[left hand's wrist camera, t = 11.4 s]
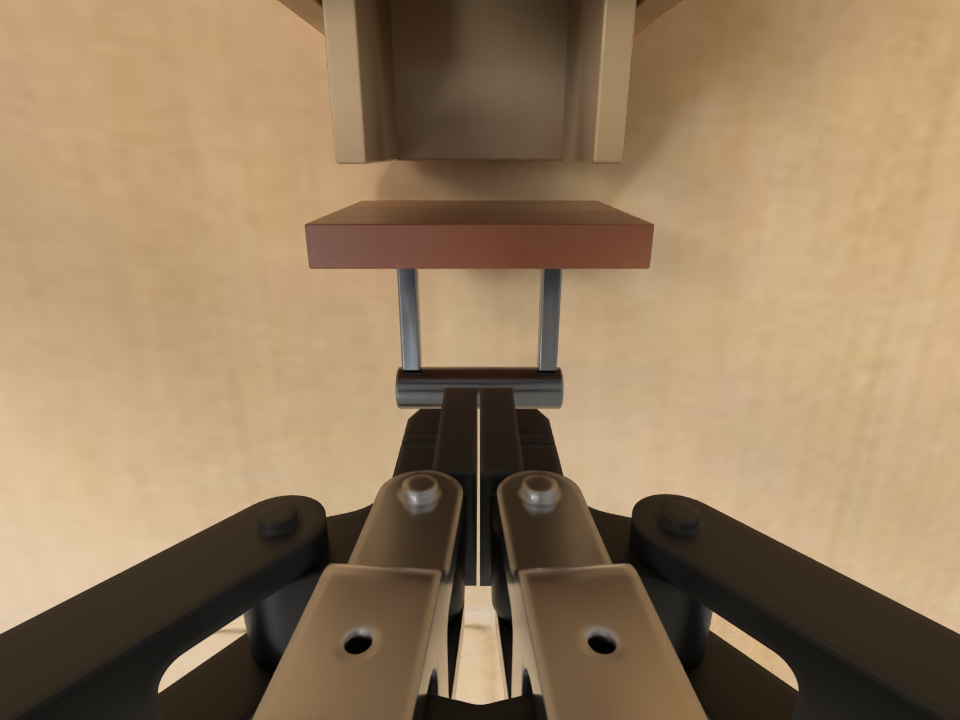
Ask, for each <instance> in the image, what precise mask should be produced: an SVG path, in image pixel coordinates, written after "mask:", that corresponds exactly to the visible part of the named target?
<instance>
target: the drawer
mask: <svg viewBox="0 0 960 720" xmlns="http://www.w3.org/2000/svg"><path fill="white" fill-rule="evenodd" d="M636 1H637V0H322V7H323V19H324V30H325V42H326V53H327V65H328V76H329V88H330V99H331V111H332V122H333V134H334V146H335V157H336V162H337V163H338V164H366V163H376V162H387V161H573V162H584V163H594V164H619V163H621V162H622V160H623V152H624V140H625V129H626V117H627V106H628V94H629V82H630V71H631V59H632V48H633V36H634V25H635V13H636ZM653 231H654V224H652V223H649V222H647V221H644V220H642V219H639V218H637V217H635V216H632V215H630V214H627V213H625V212H623V211H620V210H618V209H615V208H613V207H610V206H608V205H606V204H603V203H601V202H598V201H361V202H358V203H356V204H353V205H351V206H349V207H346V208H344V209H341V210H339V211H336V212H334V213H332V214H329V215H327V216H324V217H322V218H319V219H317V220H314V221H312V222H310V223H307V224H305V232H306V241H307V250H308V259H309V267H310V268H311V269H397V277H398V296H399V315H400V333H401V352H402V367H399V368H398V371H397V375H396V402H397V406H398V408H400V409H442V402H443V395H444V389H445V387H477V409H480V387H512V388H513V395H514V402H515V409H559V408H561V406H562V402H563V375H562V370H561V368H560V367H557V354H558V335H559V316H560V298H561V279H562V269H648V268H649V267H650V259H651V250H652V240H653ZM418 269H541V279H540V304H539V330H538V355H537V365H538V367H421V365H422V354H421V329H420V304H419V279H418Z"/></svg>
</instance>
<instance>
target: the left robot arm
mask: <svg viewBox="0 0 960 720" xmlns="http://www.w3.org/2000/svg"><path fill="white" fill-rule="evenodd" d="M476 566H477V387H445V389H444V395H443V402H442V409H420V410H418V411H417V412H416V413H415V414H414V415H413V416H412V417H410V418H409V419H408V422H407V426H406V429H405V434H404V437H403V441H402V445H401V448H400V452H399V455H398V459H397V463H396V466H395V470H394V474H393V478H392V479H390V480H388V481H387V482H386V483H385V484H384V485H383V486H382V487H381V488H380V490H379V492H378V494H377V497H376V499H375V501H374V503H373V504H371V505H369V506H367V507H365V508H362V509H360V510H357V511H353V512H349V513H345V514H340V515H335V516H330V517H326V512H325V509H324V507H323V506H322V505H321V504H320V503H319V502H318V501H316V500H314V499H312V498H309V497H305V496H298V495H288V496H279V497H274V498H270V499H267V500H264V501H261V502H259V503H256V504H254V505H252V506H250V507H248V508H246V509H244V510H242V511H240V512H238V513H236V514H234V515H233V516H231V517H229V518H227V519H225V520H223V521H221V522H219V523H217V524H215V525H213V526H211V527H209V528H207V529H205V530H203V531H201V532H199V533H197V534H195V535H193V536H191V537H190V538H188V539H186V540H184V541H182V542H180V543H178V544H176V545H174V546H172V547H170V548H168V549H166V550H164V551H162V552H160V553H158V554H156V555H154V556H152V557H150V558H148V559H147V560H145V561H143V562H141V563H139V564H137V565H135V566H133V567H131V568H129V569H127V570H125V571H123V572H121V573H119V574H117V575H115V576H113V577H111V578H109V579H107V580H105V581H104V582H102V583H100V584H98V585H96V586H94V587H92V588H90V589H88V590H86V591H84V592H82V593H80V594H78V595H76V596H74V597H72V598H70V599H68V600H66V601H64V602H62V603H61V604H59V605H57V606H55V607H53V608H51V609H49V610H47V611H45V612H43V613H41V614H39V615H37V616H35V617H33V618H31V619H29V620H27V621H25V622H23V623H21V624H19V625H18V626H16V627H14V628H12V629H10V630H8V631H6V632H4V633H2V634H0V720H960V634H958V633H956V632H954V631H952V630H950V629H948V628H946V627H944V626H942V625H941V624H939V623H937V622H935V621H933V620H931V619H929V618H927V617H925V616H923V615H921V614H919V613H917V612H915V611H913V610H911V609H909V608H907V607H905V606H903V605H901V604H899V603H898V602H896V601H894V600H892V599H890V598H888V597H886V596H884V595H882V594H880V593H878V592H876V591H874V590H872V589H870V588H868V587H866V586H864V585H862V584H860V583H858V582H856V581H855V580H853V579H851V578H849V577H847V576H845V575H843V574H841V573H839V572H837V571H835V570H833V569H831V568H829V567H827V566H825V565H823V564H821V563H819V562H817V561H815V560H813V559H812V558H810V557H808V556H806V555H804V554H802V553H800V552H798V551H796V550H794V549H792V548H790V547H788V546H786V545H784V544H782V543H780V542H778V541H776V540H774V539H772V538H770V537H769V536H767V535H765V534H763V533H761V532H759V531H757V530H755V529H753V528H751V527H749V526H747V525H745V524H743V523H741V522H739V521H737V520H735V519H733V518H731V517H729V516H727V515H726V514H724V513H722V512H720V511H718V510H716V509H714V508H712V507H710V506H708V505H706V504H704V503H702V502H699V501H697V500H694V499H691V498H688V497H684V496H679V495H671V494H659V495H652V496H649V497H646V498H644V499H641V500H640V501H639V502H637V503H636V505H635V506H634V508H633V511H632V518H630V517H625V516H620V515H615V514H610V513H606V512H602V511H599V510H596V509H593V508H591V507H589V506H587V504H586V501H585V499H584V497H583V494H582V492H581V490H580V488H579V487H578V486H577V485H576V484H575V483H574V482H573V481H572V480H570V479H568V478H567V477H565V476H563V472H562V468H561V465H560V461H559V457H558V453H557V449H556V445H555V441H554V438H553V435H552V430H551V426H550V422H549V419H548V418H547V417H545V416H544V415H543V414H542V413H541V412H540V411H539V410H537V409H515V402H514V395H513V388H512V387H480V586H492V603H493V606H494V609H495V611H496V620H495V621H496V633H497V641H498V649H499V657H500V665H501V672H502V680H503V688H504V696H505V700H502V701H498V702H494V703H490V704H484V705H476V704H470V703H466V702H462V701H458V700H455V696H456V688H457V680H458V672H459V665H460V657H461V649H462V641H463V633H464V592H465V586H476ZM712 612H715V613H716V614H718V615H719V616H721V617H722V618H724V619H725V620H727V621H728V622H730V623H731V624H733V625H734V626H736V627H737V628H739V629H740V630H742V631H743V632H745V633H746V634H748V635H749V636H751V637H752V638H754V639H756V640H757V641H759V642H760V643H762V644H763V645H765V646H766V647H768V648H769V649H771V650H772V651H774V652H775V653H776V654H778V655H779V656H780V657H781V658H782V659H783V660H784V661H785V662H786V663H787V664H788V665H789V667H790V668H791V669H792V671H793V673H794V675H795V677H796V679H797V682H798V687H799V691H797V690H795V689H794V688H792V687H791V686H790V685H788V684H787V683H785V682H784V681H782V680H781V679H779V678H778V677H777V676H775V675H774V674H772V673H771V672H769V671H768V670H766V669H765V668H764V667H762V666H761V665H759V664H758V663H756V662H755V661H753V660H752V659H751V658H749V657H748V656H746V655H745V654H743V653H742V652H740V651H739V650H738V649H736V648H735V647H733V646H732V645H730V644H729V643H727V642H726V641H724V640H723V639H722V638H720V637H719V636H717V635H716V634H714V633H713V632H711V631H710V630H709V628H710V623H711V618H712ZM242 614H244V619H245V624H246V629H247V633H246V634H244V635H243V636H241V637H240V638H238V639H237V640H236V641H234V642H233V643H231V644H230V645H228V646H227V647H225V648H224V649H222V650H221V651H220V652H218V653H217V654H215V655H214V656H212V657H211V658H209V659H208V660H207V661H205V662H204V663H202V664H201V665H199V666H198V667H196V668H195V669H194V670H192V671H191V672H189V673H188V674H186V675H185V676H183V677H182V678H181V679H179V680H178V681H176V682H175V683H173V684H172V685H170V686H169V687H168V688H166V689H165V690H163V691H162V692H160V693H159V694H158V687H159V683H160V681H161V678H162V676H163V675H164V673H165V671H166V670H167V669H168V667H169V666H170V665H171V664H172V663H173V662H174V661H175V660H176V659H177V658H178V657H179V656H181V655H182V654H183V653H185V652H186V651H188V650H189V649H191V648H192V647H194V646H195V645H197V644H198V643H200V642H201V641H203V640H204V639H206V638H207V637H209V636H211V635H212V634H214V633H215V632H217V631H218V630H220V629H221V628H223V627H224V626H226V625H227V624H229V623H230V622H232V621H233V620H235V619H236V618H238V617H239V616H241V615H242Z"/></svg>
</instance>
